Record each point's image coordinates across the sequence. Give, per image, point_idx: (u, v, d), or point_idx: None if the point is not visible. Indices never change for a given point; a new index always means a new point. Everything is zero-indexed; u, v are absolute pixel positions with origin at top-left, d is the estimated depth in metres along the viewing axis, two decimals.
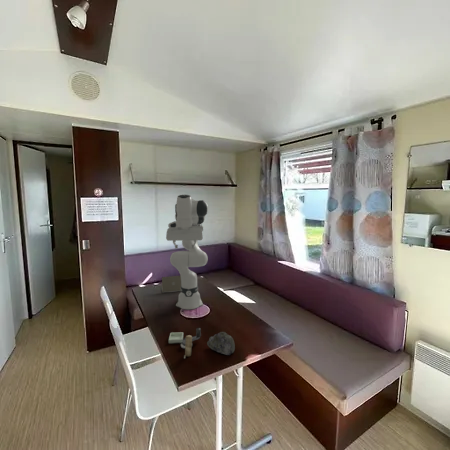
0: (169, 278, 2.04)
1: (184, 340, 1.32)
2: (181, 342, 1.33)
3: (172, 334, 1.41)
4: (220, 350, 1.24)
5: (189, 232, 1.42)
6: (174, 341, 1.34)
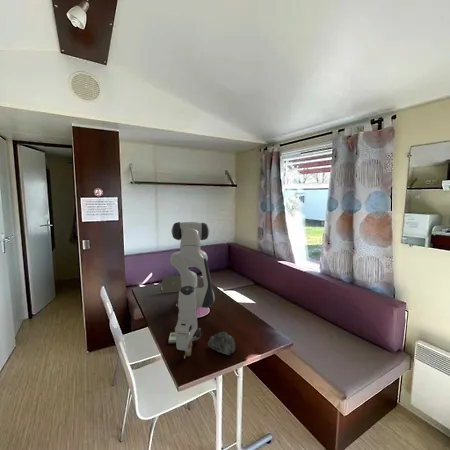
0: (169, 278, 2.04)
1: None
2: None
3: (172, 334, 1.41)
4: (220, 350, 1.25)
5: None
6: (174, 341, 1.34)
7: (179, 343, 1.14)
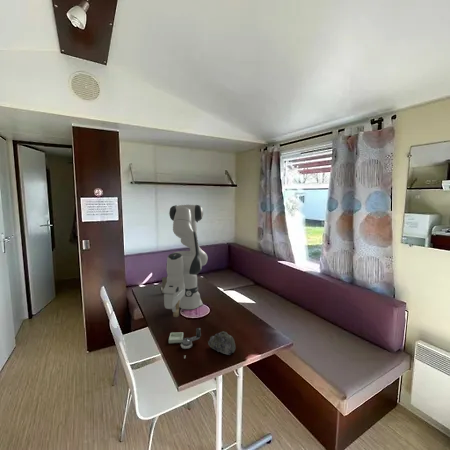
0: None
1: (184, 340, 1.32)
2: (181, 342, 1.33)
3: (172, 334, 1.41)
4: (220, 350, 1.25)
5: None
6: (174, 341, 1.34)
7: (167, 302, 1.26)
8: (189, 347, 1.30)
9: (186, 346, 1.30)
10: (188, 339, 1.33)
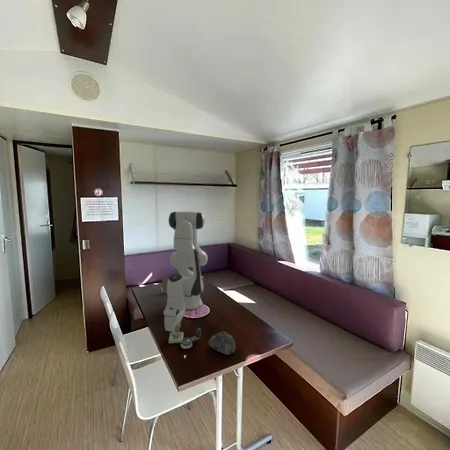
0: None
1: (184, 340, 1.32)
2: (181, 342, 1.33)
3: (172, 334, 1.41)
4: (220, 349, 1.25)
5: (180, 311, 1.39)
6: (174, 341, 1.34)
7: (167, 325, 1.27)
8: (189, 347, 1.30)
9: (186, 346, 1.30)
10: (188, 339, 1.33)
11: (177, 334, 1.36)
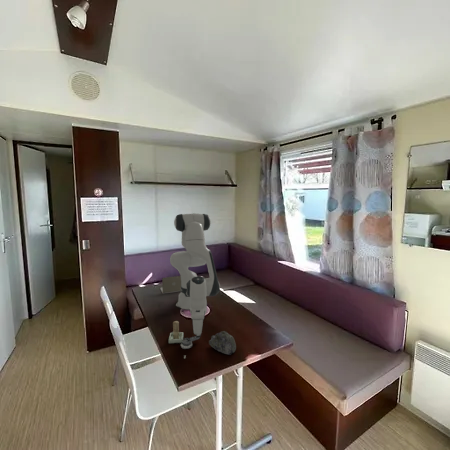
0: (169, 279, 2.03)
1: (184, 340, 1.32)
2: (181, 342, 1.33)
3: (172, 334, 1.41)
4: (221, 349, 1.25)
5: None
6: (174, 341, 1.34)
7: (196, 328, 1.25)
8: (189, 347, 1.30)
9: (186, 346, 1.30)
10: (188, 339, 1.33)
11: (177, 334, 1.37)
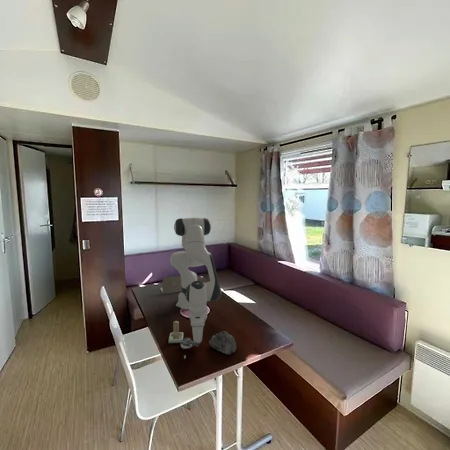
0: (170, 279, 2.03)
1: (185, 339, 1.33)
2: (181, 342, 1.33)
3: (172, 334, 1.41)
4: (221, 349, 1.25)
5: None
6: (174, 341, 1.34)
7: (196, 336, 1.18)
8: (189, 347, 1.30)
9: (186, 346, 1.30)
10: (188, 340, 1.32)
11: (177, 334, 1.37)
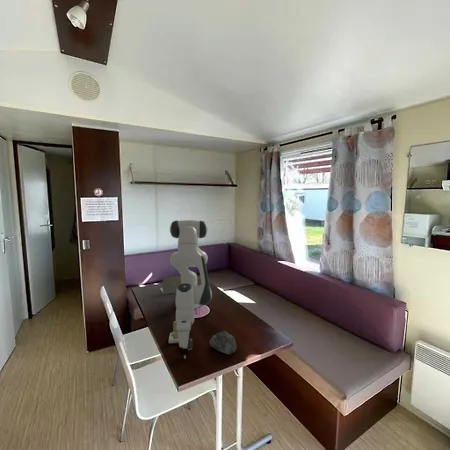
0: (170, 279, 2.03)
1: None
2: None
3: (172, 334, 1.41)
4: (221, 349, 1.25)
5: None
6: (174, 341, 1.34)
7: (182, 340, 1.14)
8: None
9: None
10: None
11: (177, 334, 1.37)
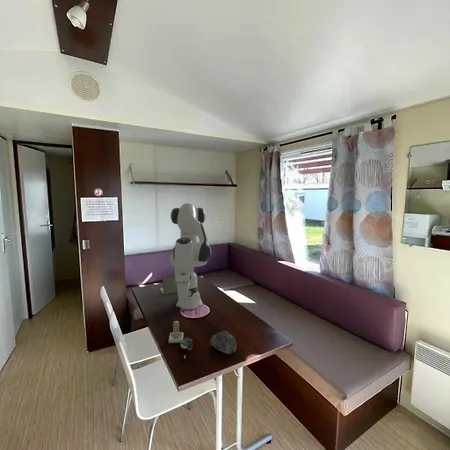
0: (170, 279, 2.02)
1: (186, 338, 1.33)
2: (181, 342, 1.33)
3: (172, 334, 1.41)
4: (221, 349, 1.26)
5: None
6: (174, 341, 1.34)
7: (181, 292, 1.12)
8: None
9: (186, 346, 1.30)
10: (186, 341, 1.31)
11: (177, 334, 1.37)
